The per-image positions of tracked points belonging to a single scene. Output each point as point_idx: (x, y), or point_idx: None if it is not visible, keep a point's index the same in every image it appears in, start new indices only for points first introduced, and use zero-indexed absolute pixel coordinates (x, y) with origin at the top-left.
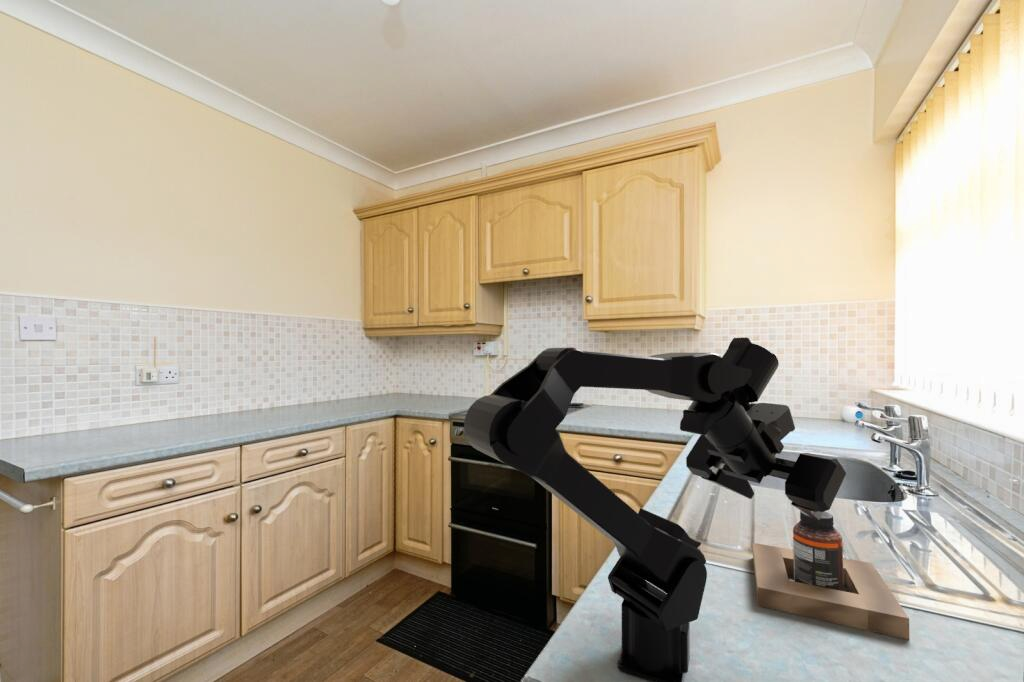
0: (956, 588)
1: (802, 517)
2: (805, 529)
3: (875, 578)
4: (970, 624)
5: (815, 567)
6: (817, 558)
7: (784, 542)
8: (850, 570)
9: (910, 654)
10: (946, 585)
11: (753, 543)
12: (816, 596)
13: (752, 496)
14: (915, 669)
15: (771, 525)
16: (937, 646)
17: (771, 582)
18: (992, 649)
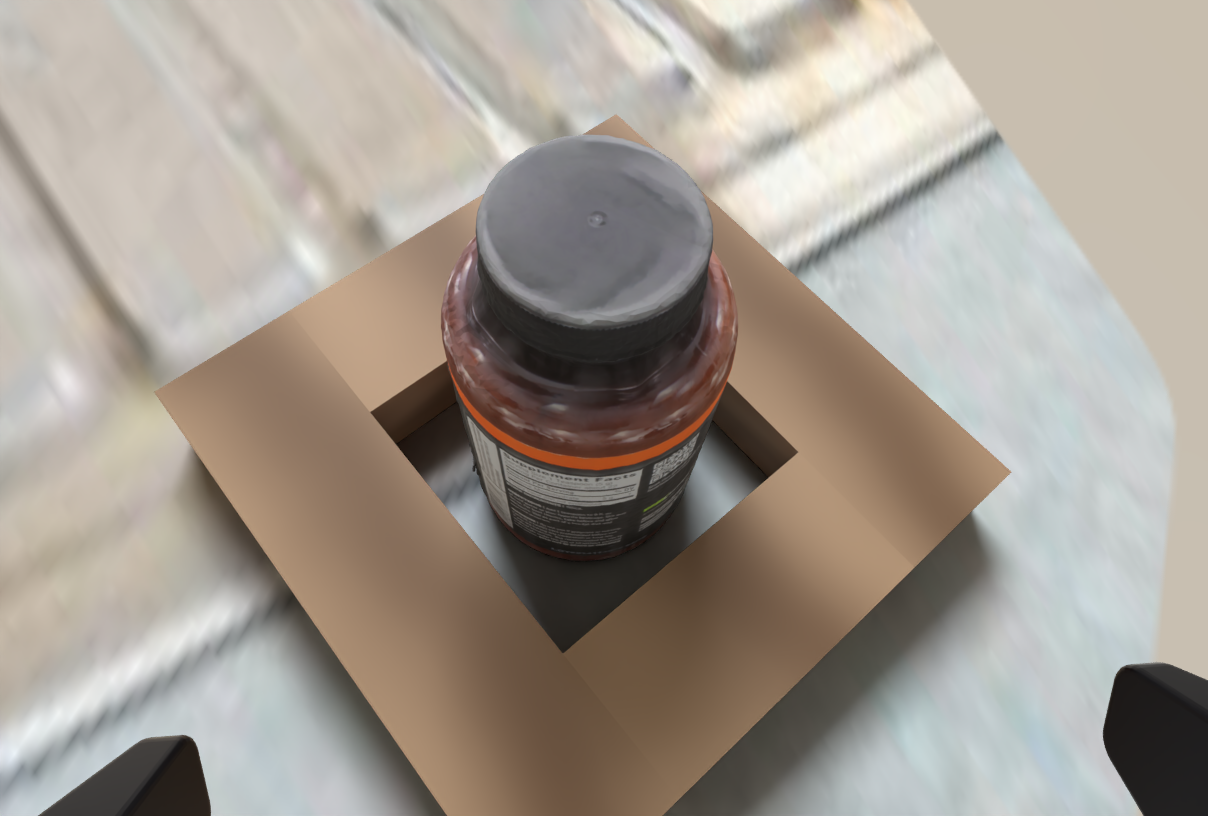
0: (767, 7)
1: (540, 333)
2: (582, 398)
3: (720, 241)
4: (942, 206)
5: (646, 503)
6: (661, 478)
7: (198, 142)
8: None
9: (1042, 609)
10: (742, 10)
11: (161, 396)
12: (745, 683)
13: (201, 786)
14: None
15: (50, 26)
16: (1020, 453)
17: (533, 781)
18: (1067, 308)
